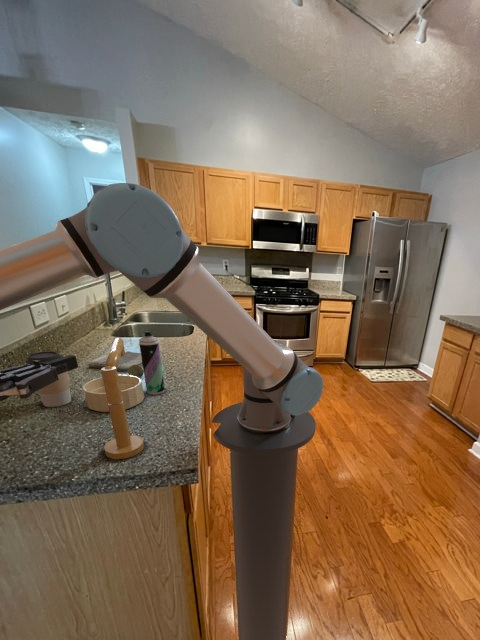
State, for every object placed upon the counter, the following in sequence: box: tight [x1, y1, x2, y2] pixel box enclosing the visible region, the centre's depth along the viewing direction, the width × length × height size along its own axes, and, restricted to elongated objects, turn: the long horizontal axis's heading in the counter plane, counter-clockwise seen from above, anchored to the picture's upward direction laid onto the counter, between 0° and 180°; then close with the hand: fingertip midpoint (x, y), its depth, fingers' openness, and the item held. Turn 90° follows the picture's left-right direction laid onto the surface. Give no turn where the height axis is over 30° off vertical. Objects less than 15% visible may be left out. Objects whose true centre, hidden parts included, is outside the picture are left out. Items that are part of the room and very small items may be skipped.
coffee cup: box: [25, 350, 72, 408], centre depth 91 cm, size 9×9×15 cm
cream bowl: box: [82, 374, 145, 413], centre depth 95 cm, size 15×15×6 cm
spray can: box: [138, 330, 166, 396], centre depth 101 cm, size 6×6×20 cm
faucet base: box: [103, 401, 145, 460], centre depth 71 cm, size 8×8×12 cm
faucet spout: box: [100, 337, 126, 404], centre depth 78 cm, size 29×3×8 cm, turn 24°
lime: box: [127, 365, 144, 379], centre depth 114 cm, size 4×5×5 cm
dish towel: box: [87, 350, 143, 372], centre depth 128 cm, size 19×18×3 cm
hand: (74, 361), depth 70 cm, fingers closed
